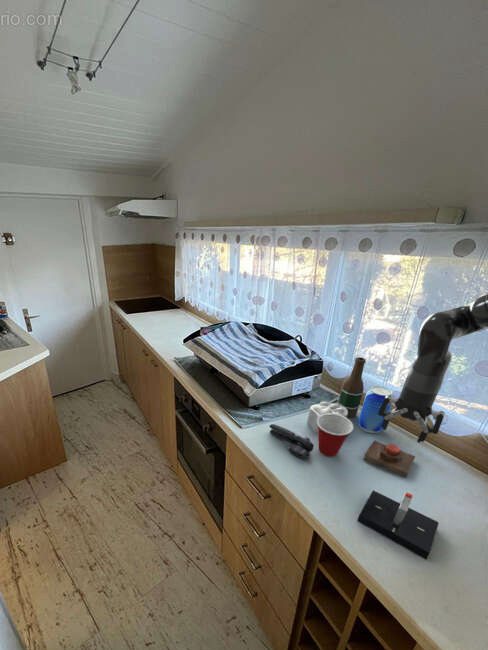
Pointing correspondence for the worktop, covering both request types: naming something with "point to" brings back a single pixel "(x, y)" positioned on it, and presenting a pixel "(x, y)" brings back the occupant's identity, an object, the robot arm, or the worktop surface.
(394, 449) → the button
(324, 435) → the plastic cup
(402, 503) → the tap handle
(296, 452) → the can opener
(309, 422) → the white bumpy block
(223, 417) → the worktop surface
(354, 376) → the beer bottle
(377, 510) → the lever switch
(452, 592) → the worktop surface
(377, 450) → the button block
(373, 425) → the beer can
